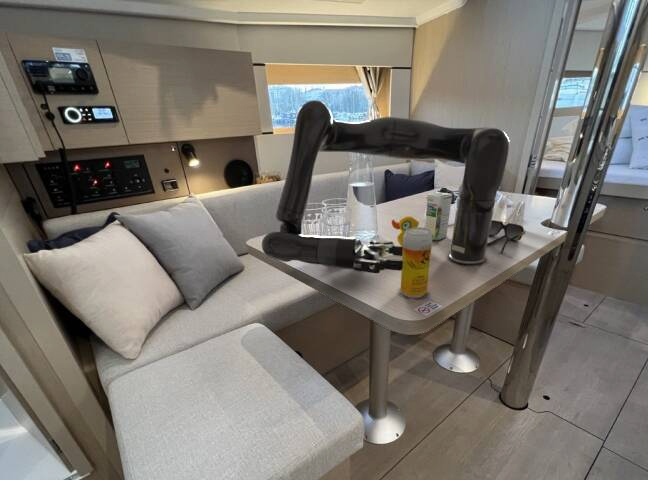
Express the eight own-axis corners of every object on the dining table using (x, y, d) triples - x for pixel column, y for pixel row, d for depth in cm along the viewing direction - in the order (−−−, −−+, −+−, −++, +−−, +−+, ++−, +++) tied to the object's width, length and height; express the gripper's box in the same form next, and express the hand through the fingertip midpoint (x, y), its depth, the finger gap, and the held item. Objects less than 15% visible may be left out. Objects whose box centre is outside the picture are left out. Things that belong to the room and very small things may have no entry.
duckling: (389, 249, 100) (390, 218, 95) (391, 244, 105) (392, 214, 100) (426, 251, 97) (429, 219, 92) (427, 245, 102) (430, 214, 97)
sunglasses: (458, 243, 102) (460, 227, 100) (482, 232, 111) (485, 218, 108) (501, 253, 93) (505, 237, 90) (524, 241, 101) (528, 225, 99)
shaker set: (485, 224, 119) (491, 193, 113) (492, 222, 121) (498, 192, 115) (515, 231, 110) (522, 198, 104) (522, 229, 111) (530, 197, 106)
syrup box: (422, 237, 109) (426, 194, 102) (433, 233, 112) (438, 191, 105) (436, 241, 105) (441, 196, 98) (447, 237, 108) (453, 193, 101)
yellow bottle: (414, 301, 71) (419, 237, 64) (394, 292, 75) (397, 230, 68) (432, 293, 74) (439, 230, 67) (412, 284, 78) (417, 225, 71)
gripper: (327, 247, 69) (401, 253, 64) (348, 228, 81) (412, 232, 75) (329, 278, 73) (399, 286, 67) (349, 256, 84) (410, 261, 79)
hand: (406, 258), depth 71 cm, fingers open, 8 cm apart
